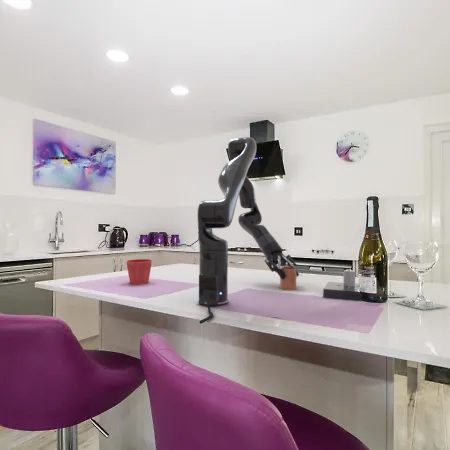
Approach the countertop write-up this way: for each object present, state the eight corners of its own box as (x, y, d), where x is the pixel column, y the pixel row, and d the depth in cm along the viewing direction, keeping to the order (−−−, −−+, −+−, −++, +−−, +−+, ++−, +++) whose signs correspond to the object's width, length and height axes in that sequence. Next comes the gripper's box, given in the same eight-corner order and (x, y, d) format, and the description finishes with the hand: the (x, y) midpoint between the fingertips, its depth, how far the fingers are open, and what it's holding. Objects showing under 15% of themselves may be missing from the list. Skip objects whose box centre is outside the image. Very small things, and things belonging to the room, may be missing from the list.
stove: (360, 300, 111) (360, 291, 111) (323, 297, 115) (323, 288, 115) (361, 291, 125) (361, 283, 125) (328, 289, 130) (328, 281, 130)
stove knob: (354, 287, 119) (355, 270, 119) (343, 286, 120) (343, 270, 120) (355, 285, 123) (355, 269, 123) (343, 284, 124) (343, 268, 124)
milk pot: (294, 290, 128) (294, 269, 128) (278, 288, 131) (278, 268, 131) (297, 287, 134) (297, 267, 134) (282, 286, 137) (282, 266, 137)
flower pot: (126, 285, 137) (126, 262, 137) (126, 281, 148) (126, 259, 148) (152, 284, 140) (152, 261, 140) (151, 280, 150) (151, 258, 150)
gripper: (262, 240, 133) (284, 273, 125) (285, 239, 143) (307, 269, 134) (252, 253, 138) (273, 285, 129) (275, 251, 147) (297, 281, 138)
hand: (291, 277), depth 131 cm, fingers open, 7 cm apart
